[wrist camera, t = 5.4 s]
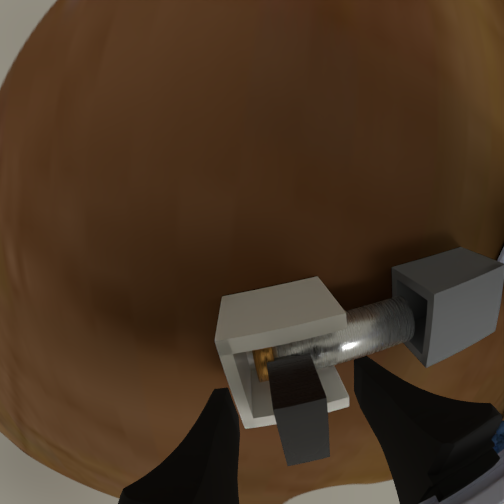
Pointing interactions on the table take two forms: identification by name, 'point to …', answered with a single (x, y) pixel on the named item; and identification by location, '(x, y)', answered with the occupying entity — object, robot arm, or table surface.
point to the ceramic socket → (275, 340)
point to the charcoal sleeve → (449, 301)
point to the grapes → (499, 438)
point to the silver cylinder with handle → (319, 356)
